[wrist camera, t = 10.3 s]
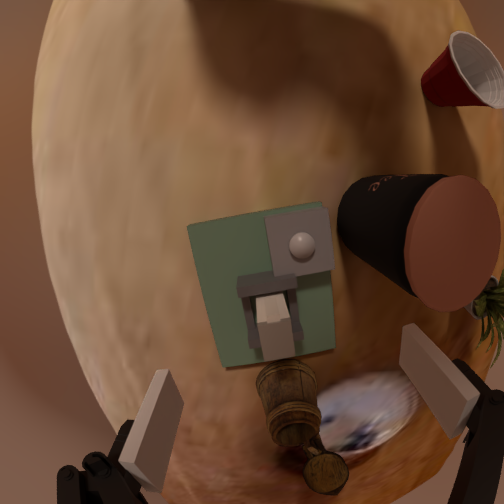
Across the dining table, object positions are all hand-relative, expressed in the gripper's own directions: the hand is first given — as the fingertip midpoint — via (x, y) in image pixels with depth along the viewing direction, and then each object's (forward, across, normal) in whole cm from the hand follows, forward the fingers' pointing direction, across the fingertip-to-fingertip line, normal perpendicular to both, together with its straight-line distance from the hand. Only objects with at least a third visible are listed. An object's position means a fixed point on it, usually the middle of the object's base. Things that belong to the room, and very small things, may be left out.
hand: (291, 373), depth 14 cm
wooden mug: (+22, +1, -22) cm, 31 cm away
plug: (+20, -1, -5) cm, 21 cm away
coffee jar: (+22, +14, +3) cm, 27 cm away
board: (+22, -1, -4) cm, 22 cm away
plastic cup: (+23, +29, +21) cm, 43 cm away
